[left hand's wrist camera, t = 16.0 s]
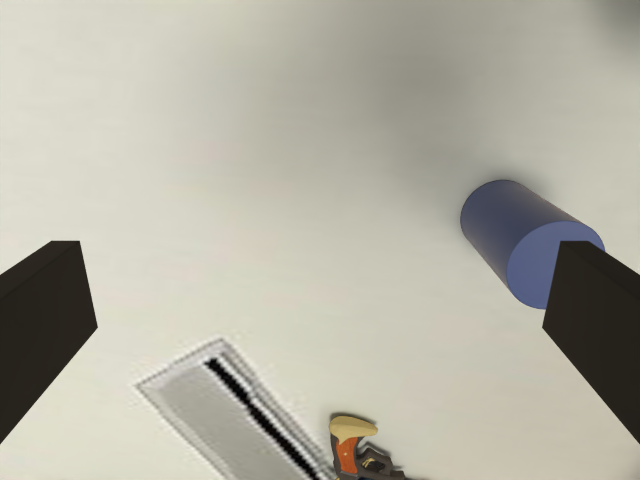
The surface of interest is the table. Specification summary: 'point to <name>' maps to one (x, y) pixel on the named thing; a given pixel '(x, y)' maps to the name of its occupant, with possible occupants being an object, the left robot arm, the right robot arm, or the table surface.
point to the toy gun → (344, 450)
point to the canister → (520, 237)
